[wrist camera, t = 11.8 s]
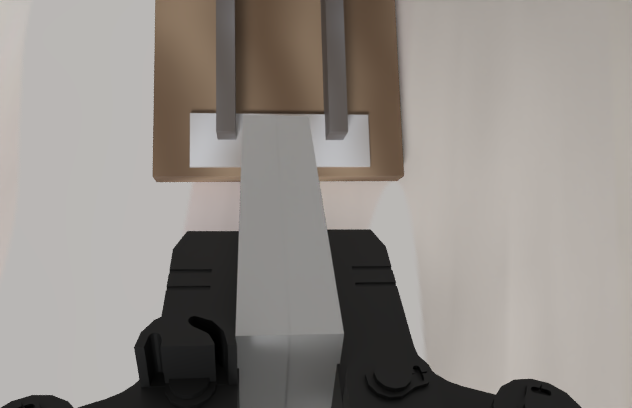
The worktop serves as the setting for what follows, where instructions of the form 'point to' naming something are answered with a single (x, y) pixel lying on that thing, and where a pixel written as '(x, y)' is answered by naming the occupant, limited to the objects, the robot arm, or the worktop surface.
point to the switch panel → (276, 84)
